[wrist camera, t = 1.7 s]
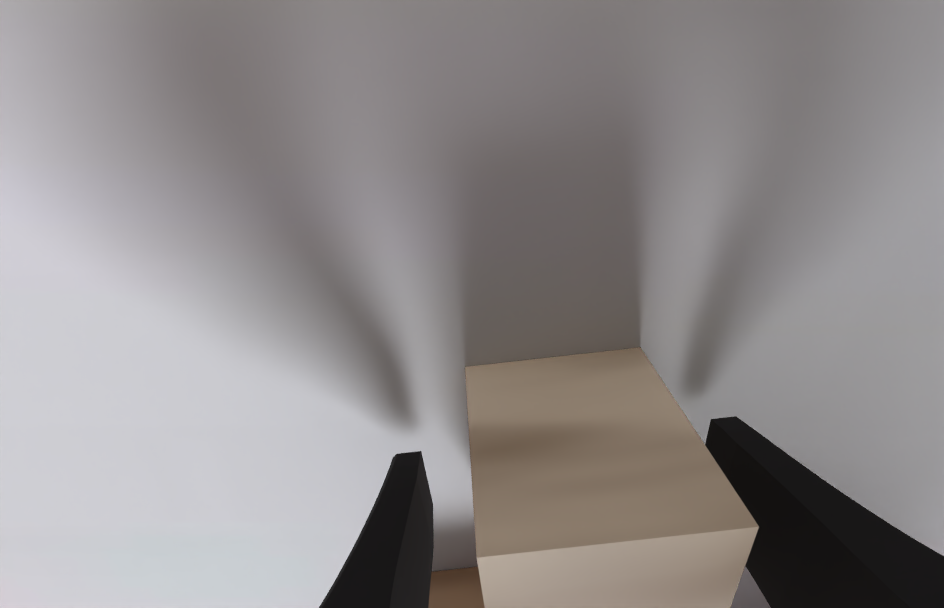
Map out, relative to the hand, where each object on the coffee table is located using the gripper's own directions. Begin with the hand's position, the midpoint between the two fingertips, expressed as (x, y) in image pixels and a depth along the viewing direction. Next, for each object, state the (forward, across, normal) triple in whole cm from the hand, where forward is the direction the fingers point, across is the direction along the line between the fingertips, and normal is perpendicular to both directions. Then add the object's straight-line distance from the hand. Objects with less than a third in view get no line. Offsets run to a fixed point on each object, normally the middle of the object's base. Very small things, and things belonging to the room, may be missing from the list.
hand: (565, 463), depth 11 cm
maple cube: (+2, 0, 0) cm, 2 cm away
